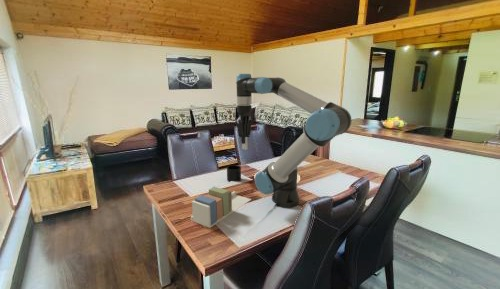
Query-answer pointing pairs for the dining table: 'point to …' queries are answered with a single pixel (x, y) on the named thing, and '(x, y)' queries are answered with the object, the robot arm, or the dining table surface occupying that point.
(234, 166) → the mug
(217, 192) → the book olive
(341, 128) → the robot arm
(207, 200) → the book navy
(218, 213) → the book rust
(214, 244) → the dining table surface
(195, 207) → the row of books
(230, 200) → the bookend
